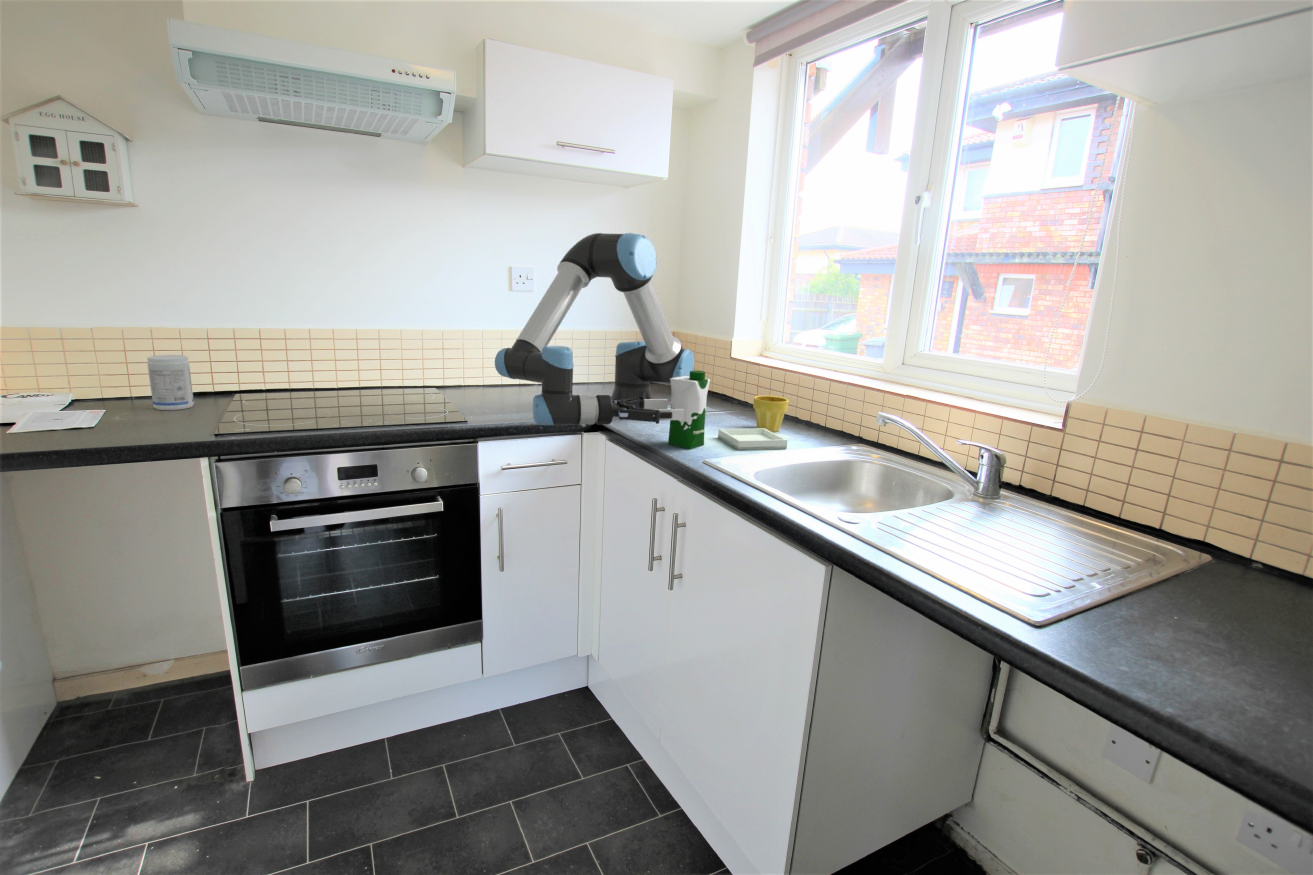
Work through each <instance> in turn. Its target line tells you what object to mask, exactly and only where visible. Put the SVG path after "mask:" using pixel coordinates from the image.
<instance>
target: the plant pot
mask: <svg viewBox="0 0 1313 875" xmlns="http://www.w3.org/2000/svg"><path fill="white" fill-rule="evenodd" d="M752 406H753V410H755V411H754V412H755V419H756V428H765V429H767V430H769V431H771V432H773V433H777V432H779V431H780V430H781V429H780V428H781V425H782V422H783V420H784V417H785V413H786V412H788V408H789V399H788V398H786V397H783V396H782V397H781V396H776V395H756V396H754V397H753V403H752Z"/></svg>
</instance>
